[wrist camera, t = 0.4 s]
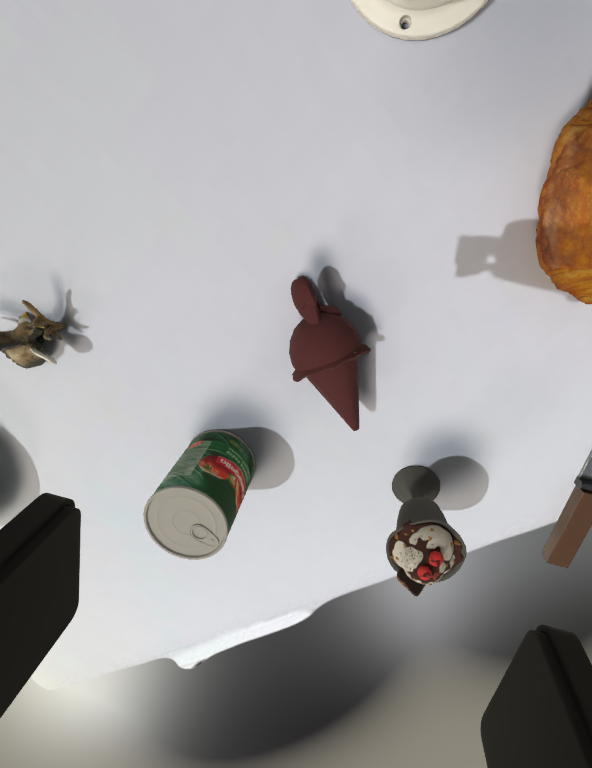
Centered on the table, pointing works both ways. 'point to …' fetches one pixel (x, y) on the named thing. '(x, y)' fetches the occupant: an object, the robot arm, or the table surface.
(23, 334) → the eagle figurine
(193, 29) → the table surface
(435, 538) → the sundae
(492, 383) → the table surface
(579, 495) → the knife
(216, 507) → the canned tomato
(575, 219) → the croissant
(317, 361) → the icecream
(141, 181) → the table surface
